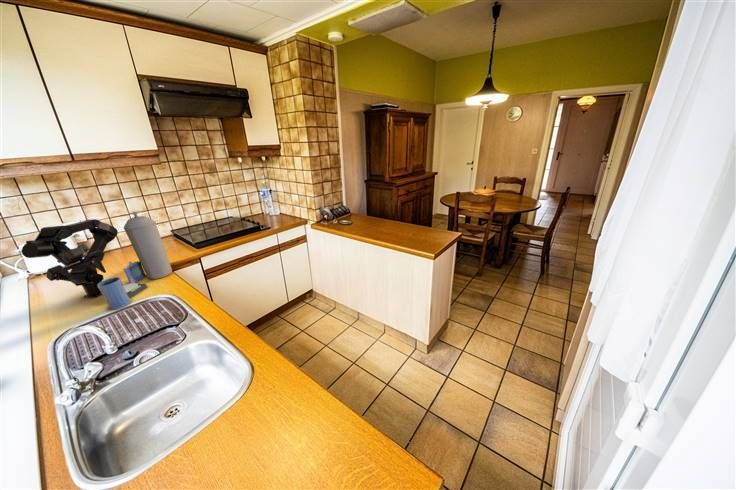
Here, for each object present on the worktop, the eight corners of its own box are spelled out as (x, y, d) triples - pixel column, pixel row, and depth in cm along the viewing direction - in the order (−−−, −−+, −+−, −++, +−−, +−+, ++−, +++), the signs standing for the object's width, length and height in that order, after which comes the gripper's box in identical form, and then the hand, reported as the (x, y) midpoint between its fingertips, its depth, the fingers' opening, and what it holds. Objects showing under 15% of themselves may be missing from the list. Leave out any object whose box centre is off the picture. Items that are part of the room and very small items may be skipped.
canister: (180, 269, 148) (157, 208, 134) (159, 281, 136) (132, 216, 123) (161, 268, 150) (137, 208, 137) (139, 280, 139) (110, 216, 125)
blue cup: (105, 309, 116) (92, 286, 111) (120, 299, 122) (109, 277, 117) (120, 309, 115) (107, 286, 110) (134, 299, 121) (124, 277, 117)
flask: (133, 284, 135) (124, 265, 131) (128, 284, 135) (119, 266, 131) (147, 275, 143) (139, 257, 139) (142, 275, 144) (134, 258, 139)
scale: (109, 298, 124) (106, 293, 123) (127, 287, 133) (125, 282, 132) (130, 298, 123) (127, 293, 122) (147, 287, 132) (145, 282, 130)
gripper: (35, 251, 101) (70, 278, 103) (91, 233, 118) (120, 257, 120) (32, 268, 106) (66, 293, 108) (87, 248, 123) (115, 271, 125)
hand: (93, 277), depth 115 cm, fingers open, 9 cm apart
